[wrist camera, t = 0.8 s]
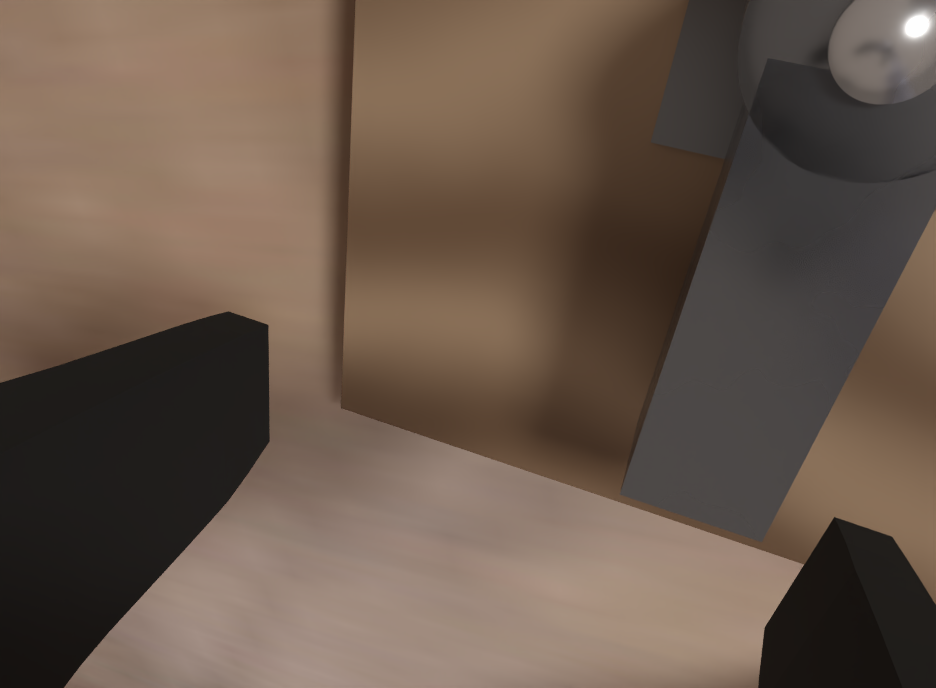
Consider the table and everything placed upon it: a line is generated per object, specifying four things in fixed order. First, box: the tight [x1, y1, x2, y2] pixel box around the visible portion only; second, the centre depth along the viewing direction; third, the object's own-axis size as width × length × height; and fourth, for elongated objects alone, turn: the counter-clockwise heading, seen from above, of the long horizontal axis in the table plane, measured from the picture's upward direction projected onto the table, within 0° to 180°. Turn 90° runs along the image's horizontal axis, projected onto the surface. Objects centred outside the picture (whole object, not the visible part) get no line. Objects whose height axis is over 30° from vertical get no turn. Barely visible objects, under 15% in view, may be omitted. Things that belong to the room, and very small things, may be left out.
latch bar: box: [620, 0, 936, 542], centre depth 13 cm, size 12×4×3 cm, turn 172°
